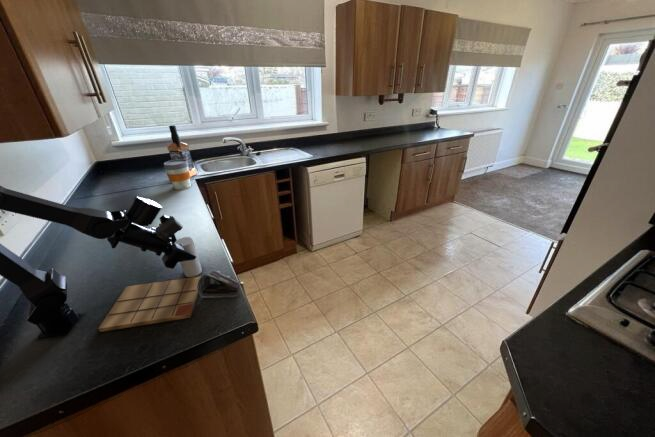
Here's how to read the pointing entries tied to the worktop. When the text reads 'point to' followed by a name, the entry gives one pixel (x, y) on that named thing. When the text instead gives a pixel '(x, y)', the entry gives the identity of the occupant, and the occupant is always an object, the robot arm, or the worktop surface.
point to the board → (152, 304)
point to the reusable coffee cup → (178, 173)
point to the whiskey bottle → (180, 150)
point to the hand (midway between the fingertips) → (192, 254)
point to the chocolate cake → (217, 285)
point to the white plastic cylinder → (190, 266)
